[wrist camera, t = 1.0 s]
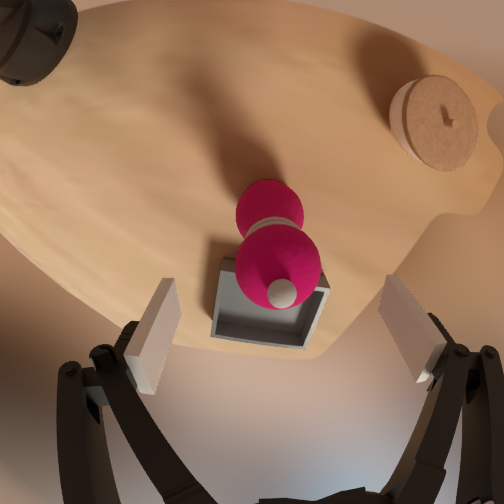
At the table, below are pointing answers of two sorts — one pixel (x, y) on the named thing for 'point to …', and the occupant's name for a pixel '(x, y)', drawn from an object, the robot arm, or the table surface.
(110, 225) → the table surface
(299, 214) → the pepper mill
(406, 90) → the lidded jar
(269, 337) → the bin
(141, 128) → the table surface
